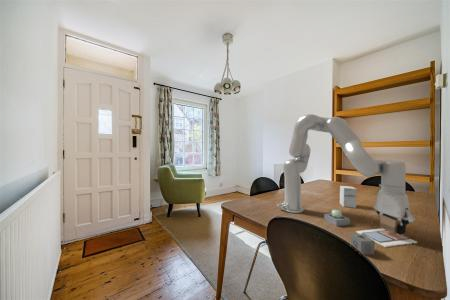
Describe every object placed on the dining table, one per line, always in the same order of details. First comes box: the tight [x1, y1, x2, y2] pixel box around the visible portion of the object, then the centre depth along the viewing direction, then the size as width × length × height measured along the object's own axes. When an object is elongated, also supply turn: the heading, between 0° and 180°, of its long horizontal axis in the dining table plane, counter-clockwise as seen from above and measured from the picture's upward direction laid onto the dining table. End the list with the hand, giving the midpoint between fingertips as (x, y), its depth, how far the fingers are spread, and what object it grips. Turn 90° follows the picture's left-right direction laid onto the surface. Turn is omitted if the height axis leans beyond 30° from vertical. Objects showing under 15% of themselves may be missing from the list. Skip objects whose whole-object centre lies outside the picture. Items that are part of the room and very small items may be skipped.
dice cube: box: [350, 233, 376, 255], centre depth 65 cm, size 5×5×5 cm
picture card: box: [355, 227, 418, 248], centre depth 74 cm, size 16×12×1 cm
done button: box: [331, 208, 343, 219], centre depth 89 cm, size 4×4×4 cm
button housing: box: [323, 213, 351, 227], centre depth 89 cm, size 8×8×3 cm
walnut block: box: [379, 215, 403, 234], centre depth 75 cm, size 6×6×6 cm
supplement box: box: [339, 185, 357, 209], centre depth 115 cm, size 7×7×13 cm
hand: (392, 229), depth 75 cm, fingers closed on walnut block, 5 cm apart
